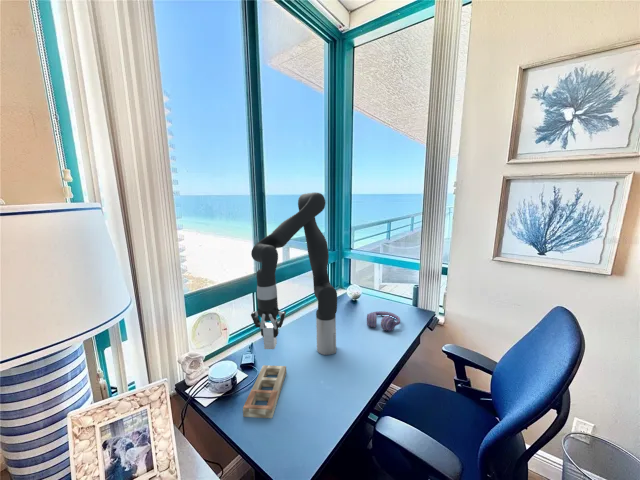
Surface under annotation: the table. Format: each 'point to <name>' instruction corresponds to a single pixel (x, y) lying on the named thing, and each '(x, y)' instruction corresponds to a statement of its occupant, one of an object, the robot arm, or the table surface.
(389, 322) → the headphones
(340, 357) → the table surface
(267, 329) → the steel peg
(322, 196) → the robot arm
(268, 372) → the wooden slotted board
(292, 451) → the table surface
